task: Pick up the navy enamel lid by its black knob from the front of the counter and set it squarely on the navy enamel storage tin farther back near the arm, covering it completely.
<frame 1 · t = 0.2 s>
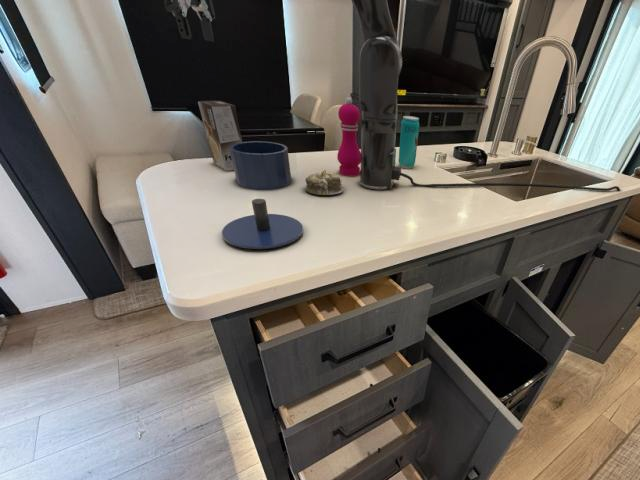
hand: (198, 39, 77), 29 cm above the table, tool pointing down, fingers open, 8 cm apart
cake: (324, 191, 85), on the table
tin: (265, 181, 87), on the table
lid: (264, 231, 63), point 1 cm above the table
coffee box: (230, 166, 95), on the table
pepper mill: (349, 173, 100), on the table
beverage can: (406, 167, 111), on the table
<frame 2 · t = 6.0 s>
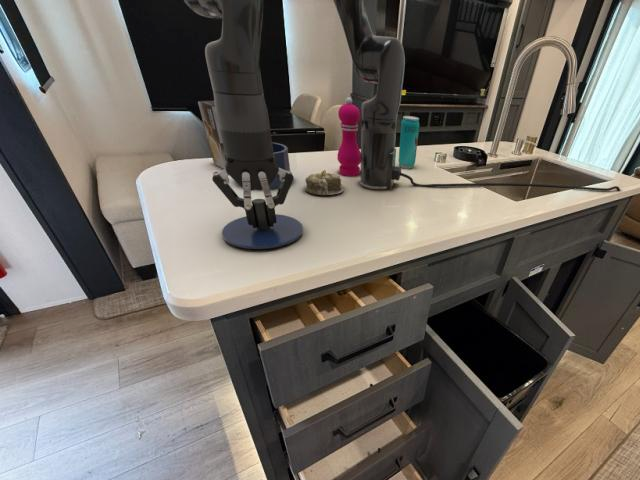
hand: (263, 225, 62), 2 cm above the table, tool pointing down, fingers closed on lid, 2 cm apart
lid: (264, 231, 63), point 1 cm above the table, touching gripper
everything else where it was.
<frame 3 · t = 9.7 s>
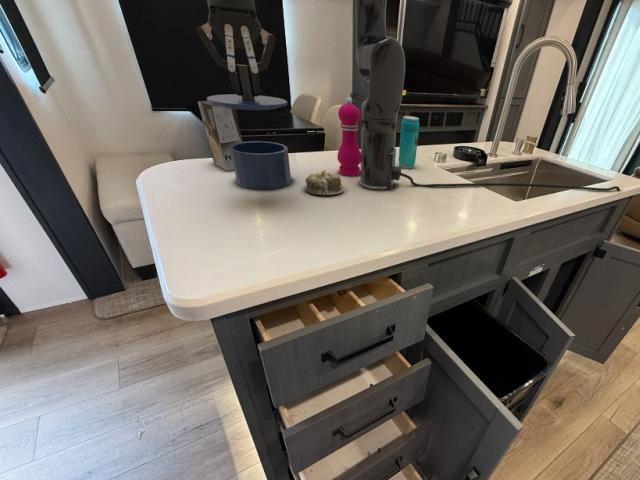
hand: (247, 95, 63), 21 cm above the table, tool pointing down, fingers closed on lid, 2 cm apart
lid: (248, 102, 64), point 20 cm above the table, touching gripper
everything else where it was.
when the fingers open (10 cm above the table, at t = 13.7 s): lid stays where it is, resting on tin.
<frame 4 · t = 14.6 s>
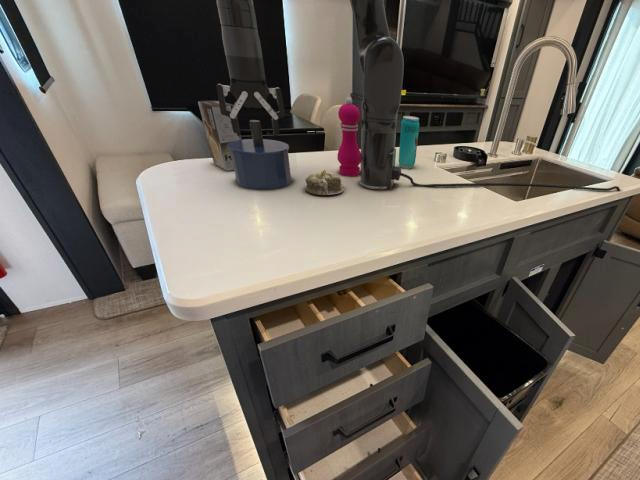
hand: (257, 135, 80), 11 cm above the table, tool pointing down, fingers open, 8 cm apart
lid: (259, 147, 82), point 8 cm above the table, touching tin
everything else where it was.
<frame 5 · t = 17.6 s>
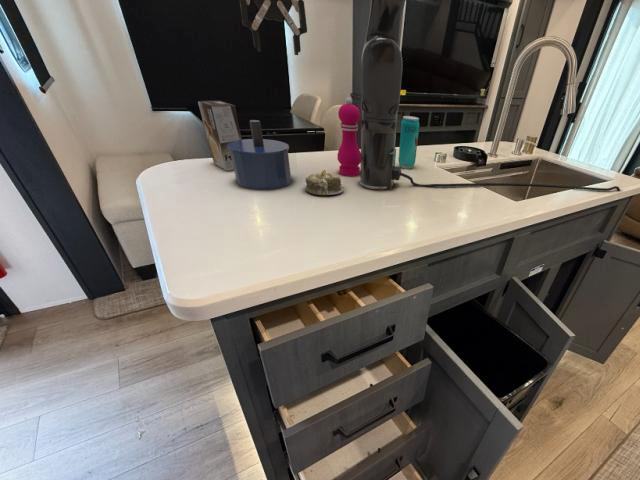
hand: (278, 53, 79), 28 cm above the table, tool pointing down, fingers open, 8 cm apart
nothing on the table moved.
at the end: lid 0.0 cm off-centre on the tin, point 8.5 cm above the tin's base; lid tilted 0°; the gripper is holding nothing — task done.
